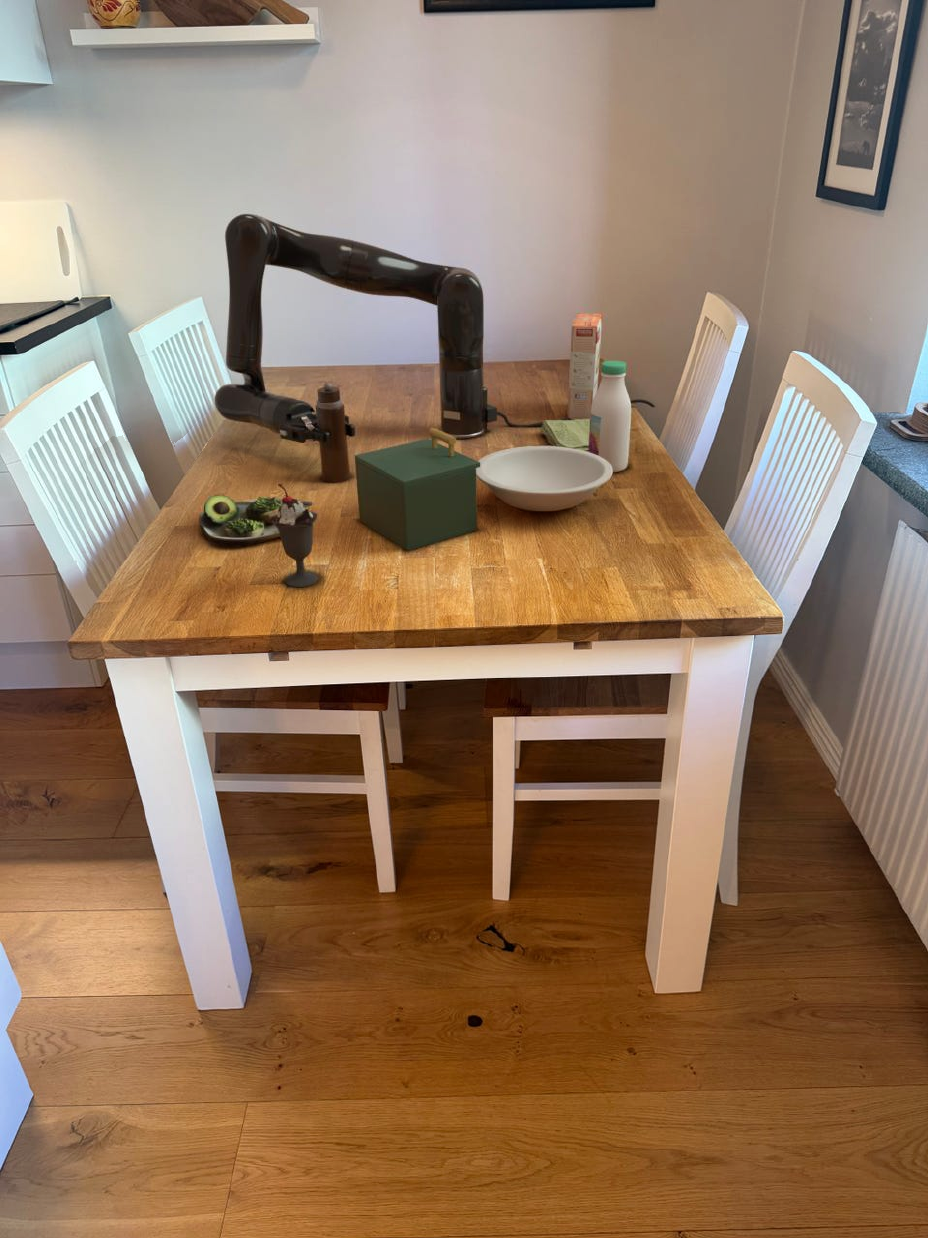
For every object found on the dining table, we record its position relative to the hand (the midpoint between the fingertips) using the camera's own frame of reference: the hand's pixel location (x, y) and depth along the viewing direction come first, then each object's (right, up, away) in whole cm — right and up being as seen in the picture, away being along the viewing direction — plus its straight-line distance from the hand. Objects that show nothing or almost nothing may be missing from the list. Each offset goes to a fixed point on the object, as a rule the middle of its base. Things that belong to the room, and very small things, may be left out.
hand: (340, 434), depth 170 cm
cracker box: (+50, +13, +40) cm, 65 cm away
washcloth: (+47, +2, +21) cm, 51 cm away
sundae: (-2, -28, -32) cm, 43 cm away
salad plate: (-14, -19, -14) cm, 27 cm away
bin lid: (+15, -9, -20) cm, 27 cm away
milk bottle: (+51, -5, +9) cm, 52 cm away
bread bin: (+15, -18, -15) cm, 28 cm away
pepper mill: (-2, -7, +6) cm, 9 cm away
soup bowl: (+37, -14, -7) cm, 40 cm away
